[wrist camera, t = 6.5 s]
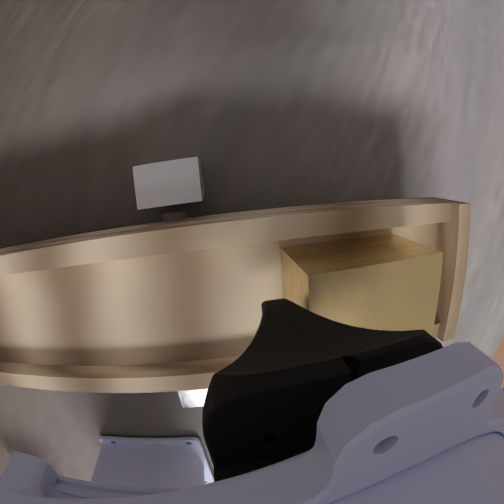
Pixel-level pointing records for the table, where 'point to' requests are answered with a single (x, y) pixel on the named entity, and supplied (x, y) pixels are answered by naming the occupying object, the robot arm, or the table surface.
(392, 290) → the block
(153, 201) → the grey rectangular bar
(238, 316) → the beam
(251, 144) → the table surface
